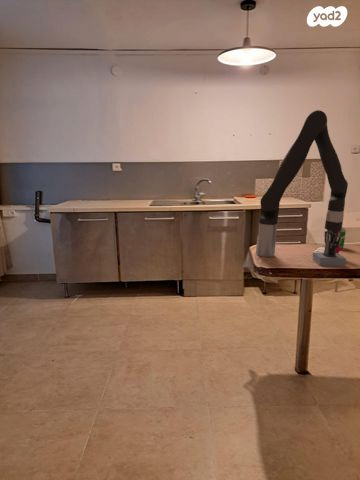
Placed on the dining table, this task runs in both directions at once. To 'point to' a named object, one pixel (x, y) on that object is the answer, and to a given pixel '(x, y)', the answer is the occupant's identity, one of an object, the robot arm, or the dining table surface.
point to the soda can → (342, 237)
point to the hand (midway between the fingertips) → (329, 253)
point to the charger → (327, 248)
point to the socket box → (329, 259)
